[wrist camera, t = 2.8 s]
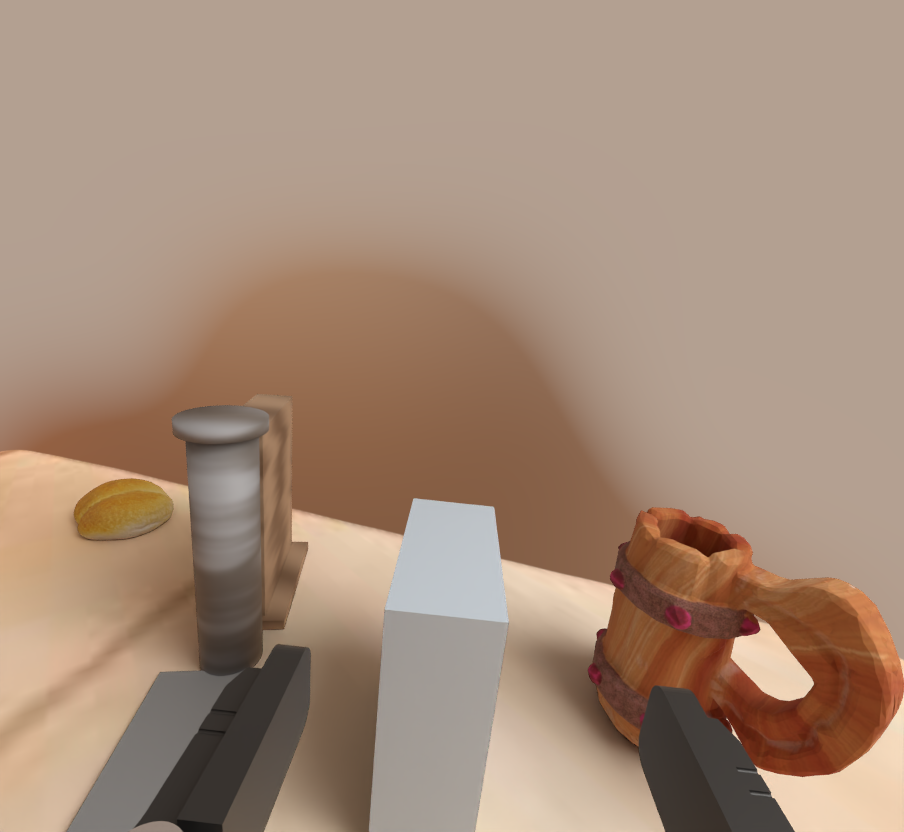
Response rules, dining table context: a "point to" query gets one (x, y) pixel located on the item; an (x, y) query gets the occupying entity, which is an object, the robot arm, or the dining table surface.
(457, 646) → the light grey block
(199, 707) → the seat pad
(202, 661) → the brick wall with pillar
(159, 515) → the bread roll
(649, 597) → the mug
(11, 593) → the dining table surface
